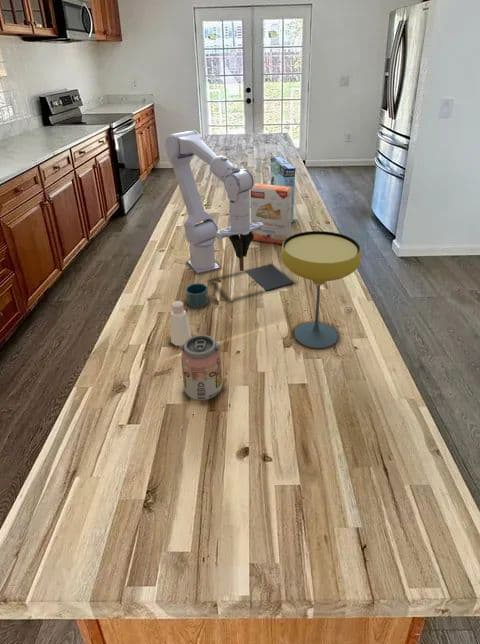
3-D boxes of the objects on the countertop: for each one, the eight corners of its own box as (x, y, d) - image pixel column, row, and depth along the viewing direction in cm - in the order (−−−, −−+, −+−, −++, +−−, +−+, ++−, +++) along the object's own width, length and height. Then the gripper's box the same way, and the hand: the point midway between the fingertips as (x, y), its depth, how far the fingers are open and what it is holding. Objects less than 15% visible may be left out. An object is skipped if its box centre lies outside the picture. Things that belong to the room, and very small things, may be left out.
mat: (210, 280, 137) (210, 279, 137) (271, 265, 145) (271, 264, 145) (228, 301, 126) (228, 300, 125) (293, 283, 134) (293, 282, 134)
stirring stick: (238, 269, 132) (237, 242, 128) (242, 268, 133) (241, 241, 129) (240, 271, 131) (239, 244, 127) (244, 270, 132) (243, 243, 128)
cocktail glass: (364, 353, 103) (375, 259, 93) (290, 362, 101) (293, 267, 90) (337, 311, 120) (344, 227, 109) (273, 319, 117) (273, 233, 106)
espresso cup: (183, 300, 127) (182, 286, 125) (203, 294, 129) (202, 281, 127) (191, 310, 122) (189, 296, 120) (211, 304, 124) (210, 291, 122)
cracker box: (250, 240, 164) (249, 187, 155) (256, 234, 169) (255, 182, 160) (286, 245, 159) (287, 190, 150) (291, 239, 164) (292, 185, 155)
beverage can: (187, 372, 99) (183, 328, 94) (224, 372, 99) (222, 328, 93) (181, 402, 91) (175, 356, 85) (221, 403, 90) (218, 356, 85)
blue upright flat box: (269, 208, 196) (269, 157, 186) (280, 206, 197) (281, 156, 187) (282, 223, 179) (283, 168, 169) (294, 222, 180) (295, 167, 170)
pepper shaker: (168, 337, 111) (163, 300, 106) (188, 332, 113) (185, 295, 108) (173, 349, 106) (169, 311, 102) (194, 343, 108) (191, 306, 103)
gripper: (222, 222, 118) (224, 267, 124) (268, 213, 124) (268, 256, 129) (212, 214, 124) (214, 257, 130) (257, 205, 129) (257, 247, 135)
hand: (241, 256), depth 130 cm, fingers closed on stirring stick, 1 cm apart
